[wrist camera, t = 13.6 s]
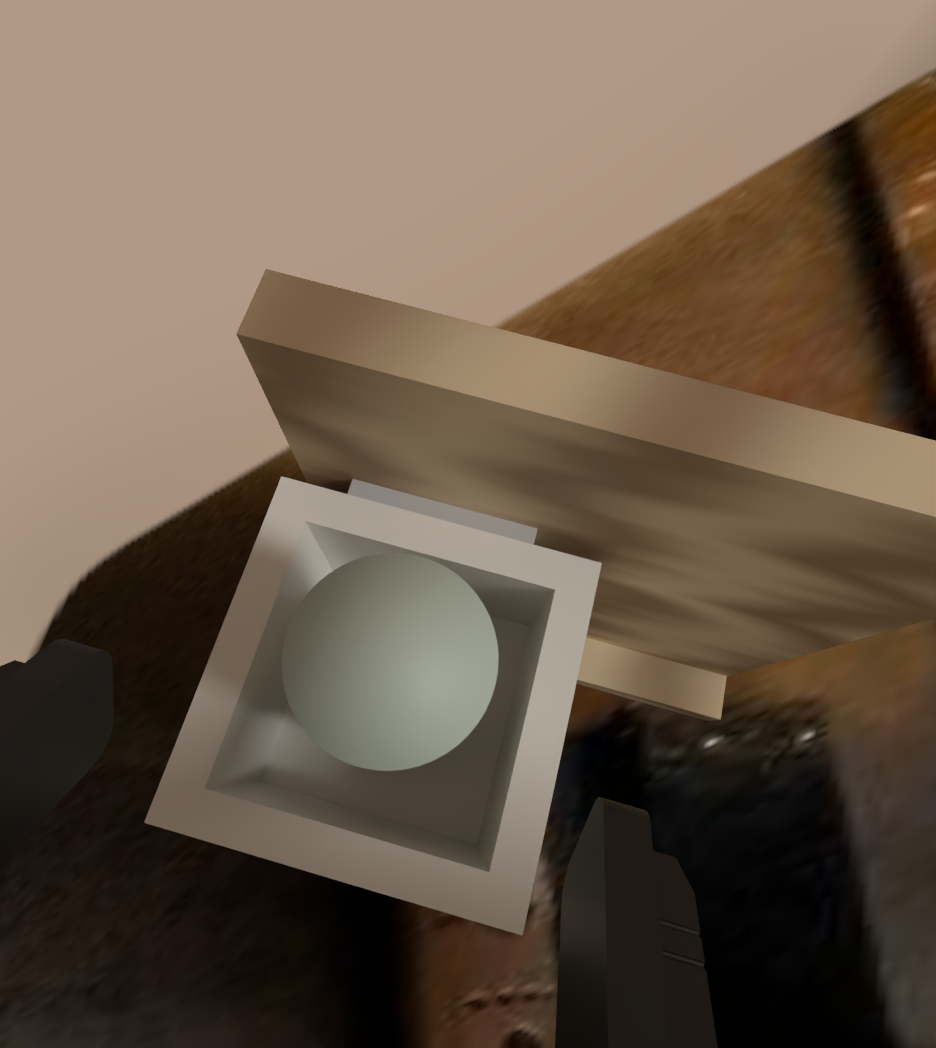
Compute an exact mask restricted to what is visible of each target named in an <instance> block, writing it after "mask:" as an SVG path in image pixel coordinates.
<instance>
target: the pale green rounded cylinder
mask: <svg viewBox="0 0 936 1048" xmlns="http://www.w3.org/2000/svg"><path fill="white" fill-rule="evenodd" d="M498 659H499V655H498V644H497V639H496V634H495V630H494V626H493V624H492V621H491V618H490V616H489V614H488V612H487V610H486V608H485V606H484V604H483V602H482V601H481V600H480V598H479V597H478V595H477V594H476V592H475V591H474V590H473V589H472V588H471V587H470V586H469V585H468V584H467V582H465V581H464V580H463V579H462V578H461V577H459V576H458V575H457V574H456V573H454V572H453V571H451V570H450V569H448V568H447V567H445V566H443V565H441V564H439V563H437V562H435V561H432V560H429V559H427V558H424V557H421V556H416V555H411V554H402V553H382V554H375V555H370V556H366V557H362V558H359V559H356V560H353V561H351V562H349V563H346V564H344V565H342V566H340V567H339V568H337V569H335V570H334V571H332V572H330V573H329V574H328V575H326V576H325V577H324V578H323V579H321V580H320V581H319V582H318V583H317V584H316V585H315V586H314V587H313V588H312V589H311V590H310V591H309V592H308V594H307V595H306V596H305V597H304V599H303V600H302V601H301V603H300V604H299V606H298V608H297V610H296V611H295V613H294V615H293V617H292V619H291V622H290V624H289V626H288V629H287V633H286V636H285V640H284V645H283V652H282V678H283V685H284V689H285V693H286V697H287V700H288V703H289V705H290V707H291V710H292V712H293V714H294V716H295V717H296V719H297V721H298V723H299V724H300V726H301V727H302V728H303V730H304V731H305V732H306V733H307V735H308V736H309V737H310V738H311V739H312V740H313V741H314V742H315V743H316V744H317V745H318V746H319V747H321V748H322V749H323V750H325V751H326V752H328V753H329V754H330V755H332V756H334V757H336V758H338V759H340V760H342V761H343V762H346V763H348V764H351V765H354V766H357V767H360V768H366V769H371V770H380V771H394V770H405V769H409V768H414V767H418V766H421V765H423V764H426V763H429V762H432V761H434V760H436V759H437V758H439V757H441V756H443V755H445V754H446V753H448V752H449V751H451V750H452V749H453V748H455V747H456V746H458V745H459V744H460V743H461V742H462V741H463V740H464V739H465V738H466V737H467V736H468V735H469V734H470V733H471V732H472V730H473V729H474V728H475V727H476V725H477V724H478V723H479V721H480V719H481V718H482V716H483V715H484V713H485V711H486V709H487V707H488V705H489V703H490V700H491V698H492V695H493V692H494V688H495V685H496V679H497V674H498Z"/></svg>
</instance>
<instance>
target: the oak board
mask: <svg viewBox="0 0 936 1048" xmlns="http://www.w3.org/2000/svg"><path fill="white" fill-rule="evenodd" d="M237 336H238V338H239V340H240V342H241V344H242V346H243V349H244V351H245V353H246V355H247V357H248V359H249V361H250V363H251V365H252V368H253V370H254V372H255V374H256V376H257V378H258V380H259V382H260V384H261V386H262V389H263V391H264V393H265V395H266V397H267V399H268V401H269V403H270V406H271V407H272V410H273V412H274V414H275V416H276V418H277V420H278V422H279V425H280V427H281V429H282V431H283V433H284V435H285V437H286V439H287V441H288V444H289V446H290V448H291V450H292V452H293V454H294V456H295V458H296V460H297V462H298V465H299V467H300V469H301V471H302V473H303V475H304V477H305V479H306V481H307V483H308V484H312V485H315V486H319V487H323V488H327V489H330V490H334V491H338V492H341V493H345V494H348V491H349V488H350V485H351V482H352V480H353V479H355V480H359V481H363V482H367V483H370V484H374V485H378V486H381V487H385V488H389V489H393V490H396V491H400V492H404V493H407V494H411V495H415V496H419V497H422V498H426V499H430V500H433V501H437V502H441V503H444V504H448V505H452V506H456V507H459V508H463V509H467V510H470V511H474V512H478V513H482V514H485V515H489V516H493V517H496V518H500V519H504V520H507V521H511V522H515V523H519V524H522V525H526V526H530V527H533V528H537V533H536V537H535V541H534V545H537V546H541V547H544V548H548V549H552V550H555V551H559V552H563V553H566V554H570V555H574V556H577V557H581V558H585V559H589V560H592V561H596V562H600V563H602V565H601V570H600V574H599V579H598V584H597V588H596V593H595V598H594V603H593V607H592V612H591V617H590V621H589V626H588V631H587V635H586V640H585V645H584V649H583V654H582V659H581V664H580V668H579V673H578V678H577V682H576V684H578V685H582V686H586V687H589V688H593V689H596V690H600V691H603V692H607V693H611V694H614V695H618V696H621V697H625V698H628V699H632V700H636V701H639V702H643V703H646V704H650V705H653V706H657V707H661V708H664V709H668V710H671V711H675V712H678V713H682V714H686V715H689V716H693V717H696V718H700V719H703V720H707V721H714V720H721V713H722V706H723V699H724V691H725V684H726V677H727V676H730V675H733V674H737V673H740V672H744V671H747V670H751V669H755V668H758V667H762V666H765V665H769V664H772V663H776V662H780V661H783V660H787V659H790V658H794V657H797V656H801V655H805V654H808V653H812V652H815V651H819V650H822V649H826V648H830V647H833V646H837V645H840V644H844V643H847V642H851V641H855V640H858V639H862V638H865V637H869V636H872V635H876V634H880V633H883V632H887V631H890V630H894V629H897V628H901V627H905V626H908V625H912V624H915V623H919V622H923V621H926V620H930V619H933V618H936V441H934V440H930V439H926V438H923V437H919V436H915V435H911V434H907V433H903V432H899V431H895V430H891V429H887V428H884V427H880V426H876V425H872V424H868V423H864V422H860V421H856V420H852V419H848V418H845V417H841V416H837V415H833V414H829V413H825V412H821V411H817V410H813V409H809V408H806V407H802V406H798V405H794V404H790V403H786V402H782V401H778V400H774V399H770V398H767V397H763V396H759V395H755V394H751V393H747V392H743V391H739V390H735V389H731V388H728V387H724V386H720V385H716V384H712V383H708V382H704V381H700V380H696V379H692V378H689V377H685V376H681V375H677V374H673V373H669V372H665V371H661V370H657V369H653V368H650V367H646V366H642V365H638V364H634V363H630V362H626V361H622V360H618V359H614V358H611V357H607V356H603V355H599V354H595V353H591V352H587V351H583V350H579V349H575V348H572V347H568V346H564V345H560V344H556V343H552V342H548V341H544V340H540V339H536V338H533V337H529V336H525V335H521V334H517V333H513V332H509V331H505V330H501V329H497V328H494V327H490V326H486V325H481V324H478V323H474V322H470V321H466V320H462V319H458V318H454V317H451V316H447V315H443V314H439V313H434V312H431V311H427V310H423V309H419V308H415V307H412V306H408V305H404V304H399V303H396V302H392V301H388V300H384V299H380V298H376V297H372V296H369V295H365V294H360V293H357V292H353V291H349V290H345V289H341V288H337V287H334V286H330V285H325V284H321V283H318V282H314V281H310V280H306V279H302V278H298V277H294V276H291V275H287V274H283V273H279V272H275V271H271V270H267V269H266V270H265V273H264V275H263V277H262V279H261V282H260V283H259V286H258V288H257V290H256V292H255V295H254V297H253V299H252V301H251V303H250V306H249V308H248V310H247V312H246V314H245V316H244V319H243V321H242V323H241V325H240V327H239V330H238V332H237Z"/></svg>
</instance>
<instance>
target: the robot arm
mask: <svg viewBox="0 0 936 1048" xmlns="http://www.w3.org/2000/svg"><path fill="white" fill-rule="evenodd" d="M113 726H114V696H113V661H112V656H111V655H110V653H109V652H107V651H104V650H101V649H97V648H94V647H91V646H87V645H84V644H80V643H77V642H73V641H70V640H67V639H58V640H55V641H53V642H52V643H50V644H49V645H47V646H46V647H45V648H44V649H42V650H41V651H40V652H39V653H37V654H36V655H35V656H34V657H32V658H31V659H30V660H28V661H27V662H26V663H22V662H18V661H12V662H10V663H7V664H5V665H3V666H0V868H1V867H2V866H3V864H4V863H5V862H6V861H7V860H8V859H9V858H10V857H11V856H12V854H13V853H14V852H15V851H16V850H17V849H18V848H19V847H20V846H21V844H22V843H23V842H24V841H25V840H26V839H27V838H28V837H29V836H30V834H31V833H32V832H33V831H34V830H35V829H36V828H37V827H38V826H39V825H40V823H41V822H42V821H43V820H44V819H45V818H46V817H47V816H48V815H49V813H50V812H51V811H52V810H53V809H54V808H55V807H56V806H57V805H58V803H59V802H60V801H61V800H62V799H63V798H64V797H65V796H66V795H67V794H68V792H69V791H70V790H71V789H72V788H73V787H74V786H75V785H76V784H77V782H78V781H79V780H80V779H81V778H82V777H83V776H84V775H85V774H86V772H87V771H88V770H89V769H90V768H91V767H92V766H93V765H94V764H95V762H96V761H97V760H98V759H99V757H100V756H101V755H102V753H103V751H104V750H105V748H106V746H107V744H108V742H109V740H110V737H111V734H112V731H113ZM699 932H700V927H699V920H698V914H697V907H696V900H695V894H694V892H693V890H692V888H691V886H690V884H689V882H688V880H687V878H686V876H685V874H684V872H683V870H682V869H681V867H680V865H679V863H678V861H677V859H676V858H675V857H672V856H668V855H665V854H661V853H658V852H655V851H653V845H652V835H651V824H650V818H649V814H648V812H647V811H645V810H642V809H638V808H635V807H632V806H628V805H625V804H621V803H618V802H614V801H611V800H608V799H604V798H601V797H599V798H598V799H597V800H596V801H595V803H594V805H593V808H592V810H591V812H590V815H589V817H588V819H587V822H586V824H585V826H584V829H583V831H582V833H581V836H580V838H579V840H578V843H577V845H576V848H575V850H574V852H573V855H572V857H571V859H570V862H569V865H568V869H567V872H566V877H565V881H564V887H563V894H562V904H561V926H560V949H559V971H558V994H557V1017H556V1040H555V1048H718V1046H717V1040H716V1033H715V1026H714V1020H713V1013H712V1006H711V1000H710V993H709V987H708V980H707V973H706V970H704V963H705V960H704V953H703V947H702V940H701V938H699Z"/></svg>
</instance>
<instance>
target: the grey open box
mask: <svg viewBox="0 0 936 1048" xmlns="http://www.w3.org/2000/svg"><path fill="white" fill-rule="evenodd" d="M536 533H537V528H533V527H530V526H526V525H522V524H519V523H515V522H511V521H507V520H504V519H500V518H496V517H493V516H489V515H485V514H482V513H478V512H474V511H470V510H467V509H463V508H459V507H456V506H452V505H448V504H444V503H441V502H437V501H433V500H430V499H426V498H422V497H419V496H415V495H411V494H407V493H404V492H400V491H396V490H393V489H389V488H385V487H381V486H378V485H374V484H370V483H367V482H363V481H359V480H355V479H353V480H352V482H351V485H350V488H349V491H348V494H345V493H341V492H338V491H334V490H330V489H327V488H323V487H319V486H315V485H312V484H308V483H304V482H301V481H297V480H293V479H290V478H286V477H282V476H281V479H280V481H279V484H278V486H277V489H276V491H275V494H274V496H273V499H272V501H271V504H270V506H269V509H268V511H267V514H266V516H265V519H264V521H263V524H262V526H261V529H260V532H259V534H258V537H257V539H256V542H255V544H254V547H253V549H252V552H251V554H250V557H249V559H248V562H247V564H246V567H245V569H244V572H243V574H242V577H241V579H240V582H239V585H238V587H237V590H236V592H235V595H234V597H233V600H232V602H231V605H230V607H229V610H228V612H227V615H226V617H225V620H224V622H223V625H222V627H221V630H220V632H219V635H218V637H217V640H216V643H215V645H214V648H213V650H212V653H211V655H210V658H209V660H208V663H207V665H206V668H205V670H204V673H203V675H202V678H201V680H200V683H199V685H198V688H197V690H196V693H195V696H194V698H193V701H192V703H191V706H190V708H189V711H188V713H187V716H186V718H185V721H184V723H183V726H182V728H181V731H180V733H179V736H178V738H177V741H176V743H175V746H174V748H173V751H172V754H171V756H170V759H169V761H168V764H167V766H166V769H165V771H164V774H163V776H162V779H161V781H160V784H159V786H158V789H157V791H156V794H155V796H154V799H153V801H152V804H151V807H150V809H149V812H148V814H147V817H146V819H145V822H144V823H147V824H150V825H154V826H157V827H160V828H164V829H167V830H170V831H174V832H177V833H180V834H184V835H187V836H190V837H194V838H197V839H200V840H204V841H207V842H210V843H214V844H217V845H220V846H224V847H227V848H230V849H234V850H237V851H241V852H244V853H247V854H251V855H254V856H257V857H261V858H264V859H267V860H271V861H274V862H277V863H281V864H284V865H287V866H291V867H294V868H297V869H301V870H304V871H307V872H311V873H314V874H318V875H321V876H324V877H328V878H331V879H334V880H338V881H341V882H344V883H348V884H351V885H354V886H358V887H361V888H364V889H368V890H371V891H374V892H378V893H381V894H384V895H388V896H391V897H394V898H398V899H401V900H405V901H408V902H411V903H415V904H418V905H421V906H425V907H428V908H431V909H435V910H438V911H441V912H445V913H448V914H451V915H455V916H458V917H461V918H465V919H468V920H471V921H475V922H478V923H482V924H485V925H488V926H492V927H495V928H498V929H502V930H505V931H508V932H512V933H515V934H518V935H522V936H523V931H524V927H525V922H526V917H527V913H528V908H529V903H530V898H531V894H532V889H533V884H534V880H535V875H536V870H537V866H538V861H539V856H540V851H541V847H542V842H543V837H544V833H545V828H546V823H547V819H548V814H549V809H550V805H551V800H552V795H553V790H554V786H555V781H556V776H557V772H558V767H559V762H560V758H561V753H562V748H563V743H564V739H565V734H566V729H567V725H568V720H569V715H570V711H571V706H572V701H573V696H574V692H575V687H576V682H577V678H578V673H579V668H580V664H581V659H582V654H583V649H584V645H585V640H586V635H587V631H588V626H589V621H590V617H591V612H592V607H593V603H594V598H595V593H596V588H597V584H598V579H599V574H600V570H601V565H602V563H600V562H596V561H592V560H589V559H585V558H581V557H577V556H574V555H570V554H566V553H563V552H559V551H555V550H552V549H548V548H544V547H541V546H537V545H534V541H535V537H536ZM382 553H402V554H411V555H416V556H421V557H424V558H427V559H429V560H432V561H435V562H437V563H439V564H441V565H443V566H445V567H447V568H448V569H450V570H451V571H453V572H454V573H456V574H457V575H458V576H459V577H461V578H462V579H463V580H464V581H465V582H467V584H468V585H469V586H470V587H471V588H472V589H473V590H474V591H475V592H476V594H477V595H478V597H479V598H480V600H481V601H482V602H483V604H484V606H485V608H486V610H487V612H488V614H489V616H490V618H491V621H492V624H493V626H494V630H495V634H496V639H497V644H498V655H499V659H498V674H497V679H496V685H495V688H494V692H493V695H492V698H491V700H490V703H489V705H488V707H487V709H486V711H485V713H484V715H483V716H482V718H481V719H480V721H479V723H478V724H477V725H476V727H475V728H474V729H473V730H472V732H471V733H470V734H469V735H468V736H467V737H466V738H465V739H464V740H463V741H462V742H461V743H460V744H459V745H458V746H456V747H455V748H453V749H452V750H451V751H449V752H448V753H446V754H445V755H443V756H441V757H439V758H437V759H436V760H434V761H432V762H429V763H426V764H423V765H421V766H418V767H414V768H409V769H405V770H394V771H380V770H371V769H366V768H360V767H357V766H354V765H351V764H348V763H346V762H343V761H342V760H340V759H338V758H336V757H334V756H332V755H330V754H329V753H328V752H326V751H325V750H323V749H322V748H321V747H319V746H318V745H317V744H316V743H315V742H314V741H313V740H312V739H311V738H310V737H309V736H308V735H307V733H306V732H305V731H304V730H303V728H302V727H301V726H300V724H299V723H298V721H297V719H296V717H295V716H294V714H293V712H292V710H291V707H290V705H289V703H288V700H287V697H286V693H285V689H284V685H283V678H282V652H283V645H284V640H285V636H286V633H287V629H288V626H289V624H290V622H291V619H292V617H293V615H294V613H295V611H296V610H297V608H298V606H299V604H300V603H301V601H302V600H303V599H304V597H305V596H306V595H307V594H308V592H309V591H310V590H311V589H312V588H313V587H314V586H315V585H316V584H317V583H318V582H319V581H320V580H321V579H323V578H324V577H325V576H326V575H328V574H329V573H330V572H332V571H334V570H335V569H337V568H339V567H340V566H342V565H344V564H346V563H349V562H351V561H353V560H356V559H359V558H362V557H366V556H370V555H375V554H382Z"/></svg>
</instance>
